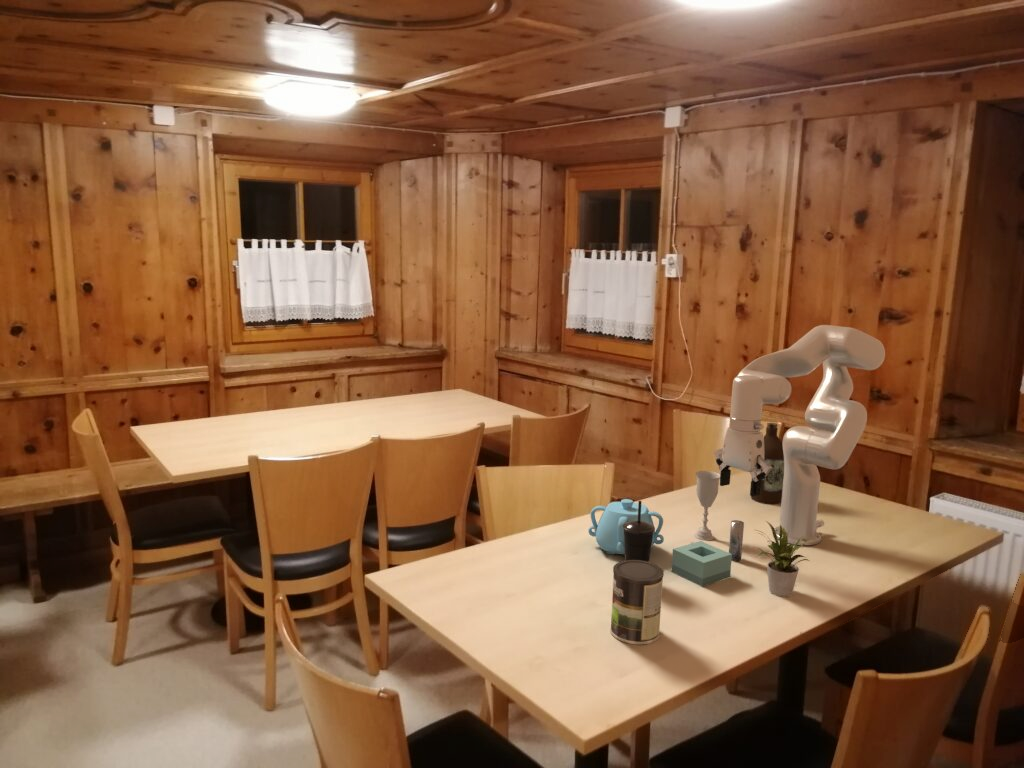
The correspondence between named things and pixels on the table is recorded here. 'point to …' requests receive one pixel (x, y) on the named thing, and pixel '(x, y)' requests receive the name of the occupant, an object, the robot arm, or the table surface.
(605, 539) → the decorative pot
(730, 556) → the bore block
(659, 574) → the coffee can
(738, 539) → the pin
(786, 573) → the house plant
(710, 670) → the table surface
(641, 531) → the drinking cup
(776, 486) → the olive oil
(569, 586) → the table surface
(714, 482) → the chalice
